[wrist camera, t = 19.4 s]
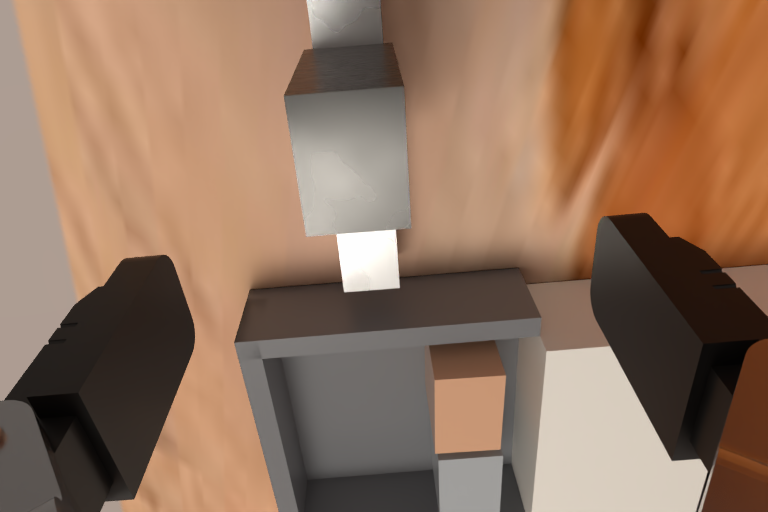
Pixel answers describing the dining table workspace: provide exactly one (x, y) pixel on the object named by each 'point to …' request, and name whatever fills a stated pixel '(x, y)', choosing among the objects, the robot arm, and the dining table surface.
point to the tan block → (465, 396)
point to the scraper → (351, 140)
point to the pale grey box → (467, 479)
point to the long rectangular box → (594, 415)
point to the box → (370, 384)
